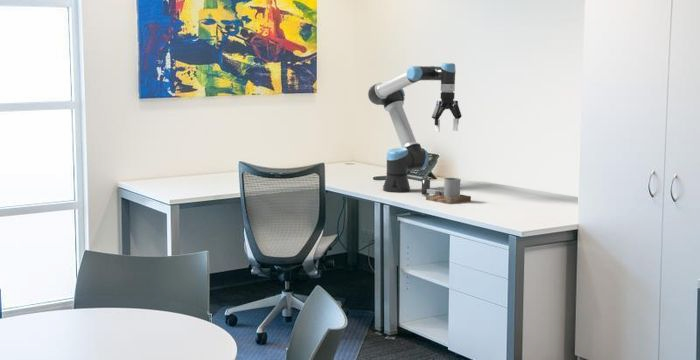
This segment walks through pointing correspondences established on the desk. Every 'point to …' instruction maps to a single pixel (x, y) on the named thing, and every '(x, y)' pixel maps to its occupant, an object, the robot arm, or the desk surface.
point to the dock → (447, 200)
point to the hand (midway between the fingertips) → (446, 131)
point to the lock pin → (428, 188)
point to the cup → (452, 187)
